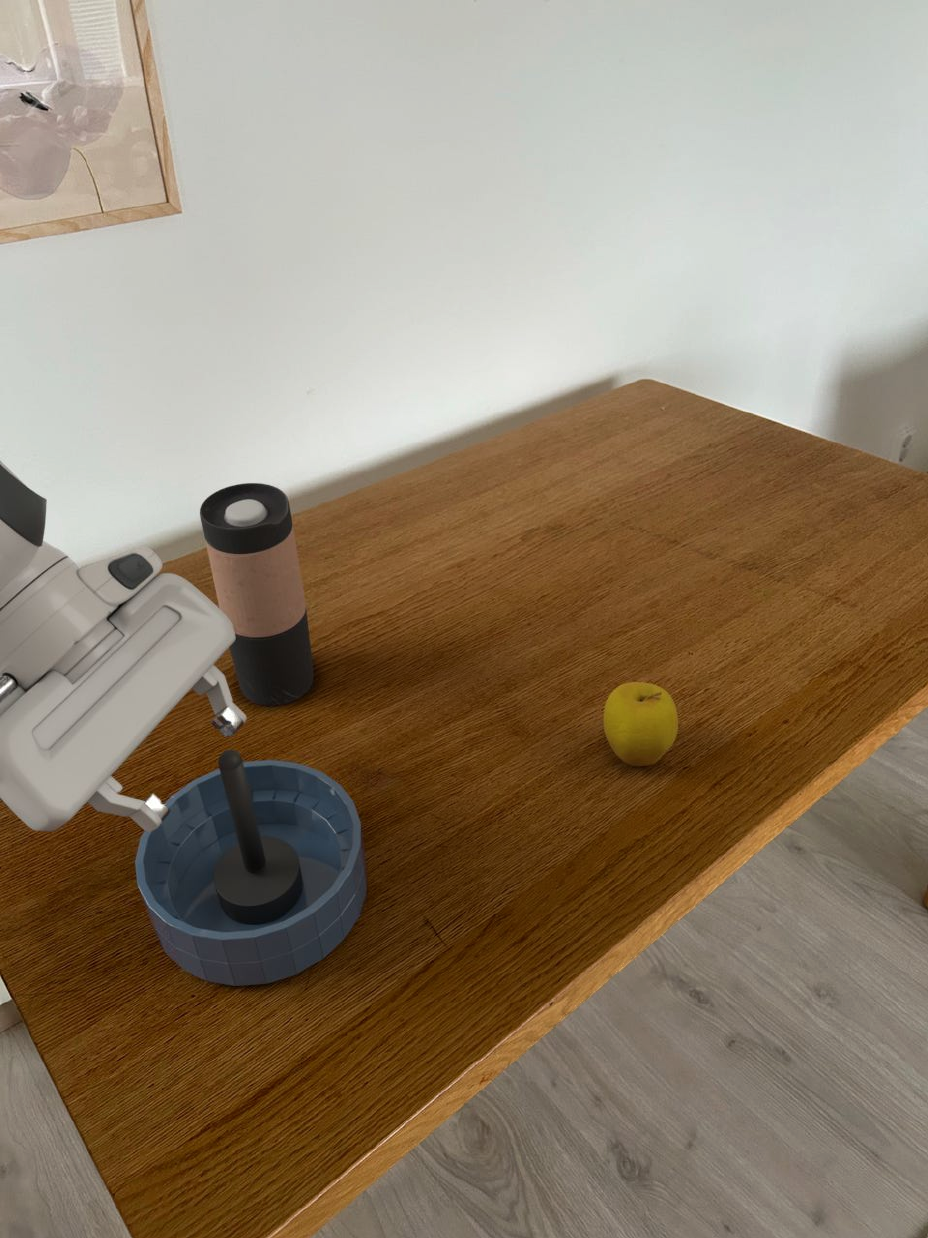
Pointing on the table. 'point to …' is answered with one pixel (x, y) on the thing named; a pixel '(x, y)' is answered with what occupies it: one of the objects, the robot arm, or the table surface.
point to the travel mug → (260, 590)
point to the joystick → (253, 858)
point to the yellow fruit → (640, 722)
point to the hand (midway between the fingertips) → (201, 773)
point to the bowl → (203, 831)
